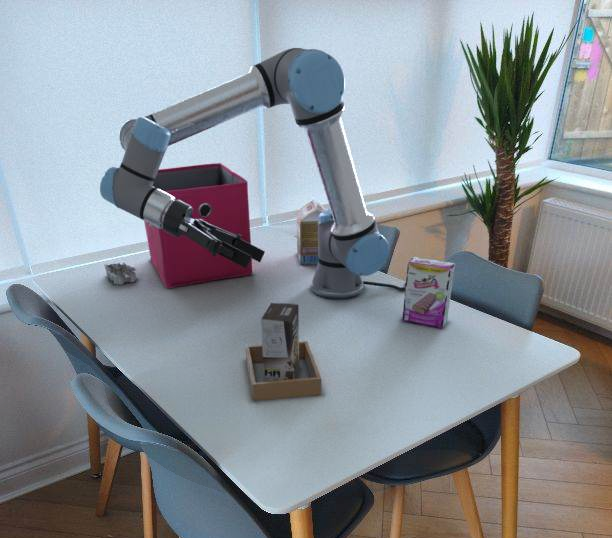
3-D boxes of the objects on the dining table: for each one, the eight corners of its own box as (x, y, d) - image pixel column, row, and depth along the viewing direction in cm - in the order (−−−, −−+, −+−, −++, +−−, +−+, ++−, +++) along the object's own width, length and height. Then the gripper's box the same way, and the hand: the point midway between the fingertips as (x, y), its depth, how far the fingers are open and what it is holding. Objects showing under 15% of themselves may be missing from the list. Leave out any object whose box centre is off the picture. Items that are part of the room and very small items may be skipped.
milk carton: (297, 254, 205) (296, 196, 195) (328, 252, 206) (329, 195, 196) (300, 264, 196) (300, 205, 186) (332, 263, 197) (333, 204, 187)
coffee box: (291, 389, 132) (290, 321, 123) (262, 385, 133) (259, 318, 124) (300, 368, 139) (299, 303, 130) (273, 365, 140) (270, 301, 131)
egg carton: (138, 281, 184) (136, 268, 182) (114, 286, 181) (111, 273, 179) (128, 270, 192) (126, 258, 190) (104, 275, 189) (102, 262, 187)
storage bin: (165, 290, 178) (152, 191, 163) (146, 259, 200) (133, 170, 185) (255, 276, 188) (250, 181, 172) (227, 248, 210) (221, 162, 194)
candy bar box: (401, 321, 160) (406, 262, 151) (406, 314, 164) (412, 256, 155) (443, 329, 156) (451, 268, 147) (447, 322, 160) (455, 262, 151)
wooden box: (307, 355, 144) (307, 341, 142) (321, 394, 130) (321, 378, 127) (246, 361, 142) (245, 345, 140) (253, 400, 128) (252, 384, 125)
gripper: (182, 228, 145) (260, 269, 145) (141, 232, 122) (235, 281, 122) (193, 199, 143) (273, 240, 143) (154, 197, 119) (250, 247, 119)
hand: (256, 259), depth 132 cm, fingers open, 13 cm apart
